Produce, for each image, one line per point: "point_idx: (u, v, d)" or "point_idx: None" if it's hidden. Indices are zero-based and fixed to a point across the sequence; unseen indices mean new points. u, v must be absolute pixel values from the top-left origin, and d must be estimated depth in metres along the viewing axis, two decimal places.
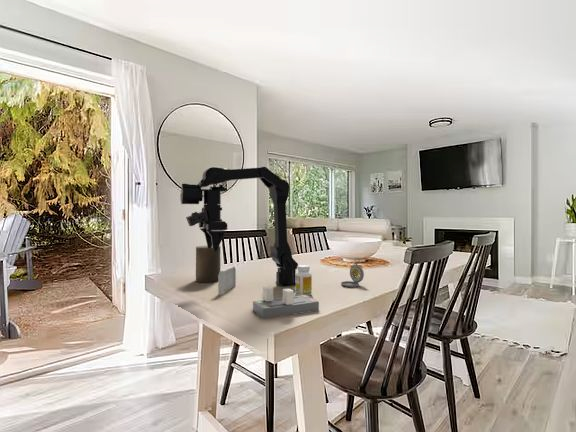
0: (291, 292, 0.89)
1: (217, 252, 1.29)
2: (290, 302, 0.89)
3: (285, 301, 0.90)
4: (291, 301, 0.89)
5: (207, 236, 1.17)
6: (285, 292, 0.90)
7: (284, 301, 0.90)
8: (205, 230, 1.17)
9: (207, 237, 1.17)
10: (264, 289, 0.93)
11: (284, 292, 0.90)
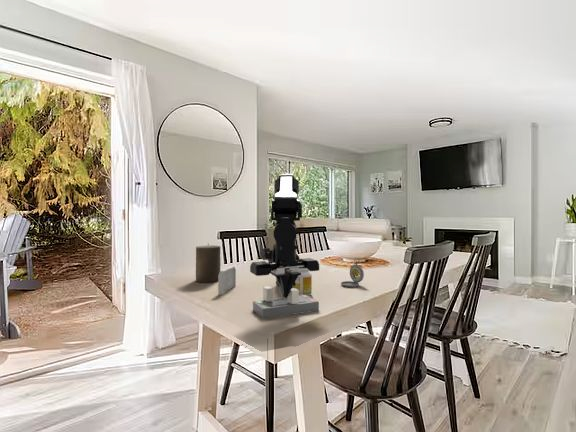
0: (296, 291, 0.90)
1: (217, 252, 1.29)
2: (295, 301, 0.90)
3: (290, 300, 0.90)
4: (296, 300, 0.90)
5: None
6: (290, 291, 0.90)
7: (289, 300, 0.91)
8: (285, 273, 0.92)
9: None
10: (264, 289, 0.93)
11: None
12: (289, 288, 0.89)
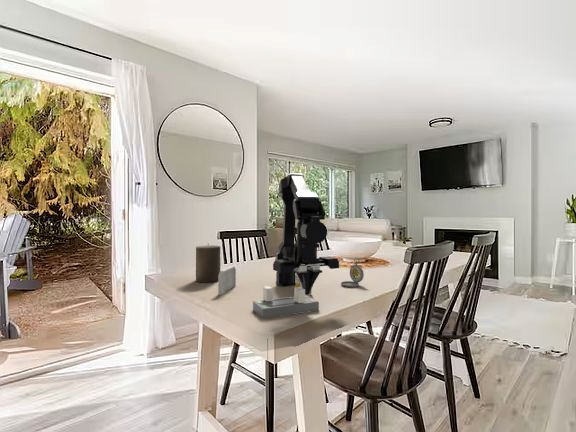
0: (303, 291, 0.91)
1: (217, 252, 1.29)
2: (302, 301, 0.91)
3: (297, 300, 0.91)
4: (303, 300, 0.91)
5: None
6: (297, 291, 0.91)
7: (296, 300, 0.92)
8: (306, 271, 0.94)
9: None
10: (264, 289, 0.93)
11: (296, 291, 0.92)
12: (311, 285, 0.92)
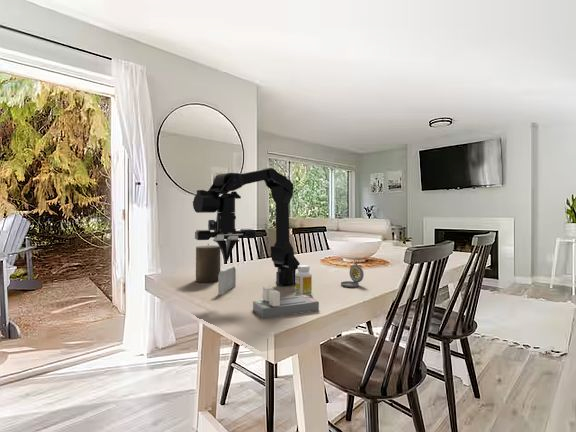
0: (277, 294, 0.88)
1: (217, 252, 1.29)
2: (276, 304, 0.87)
3: (271, 303, 0.88)
4: (277, 303, 0.88)
5: (226, 248, 1.05)
6: (271, 294, 0.88)
7: (270, 303, 0.88)
8: (227, 241, 1.06)
9: (226, 248, 1.05)
10: (264, 289, 0.93)
11: (270, 294, 0.88)
12: (229, 253, 1.03)
